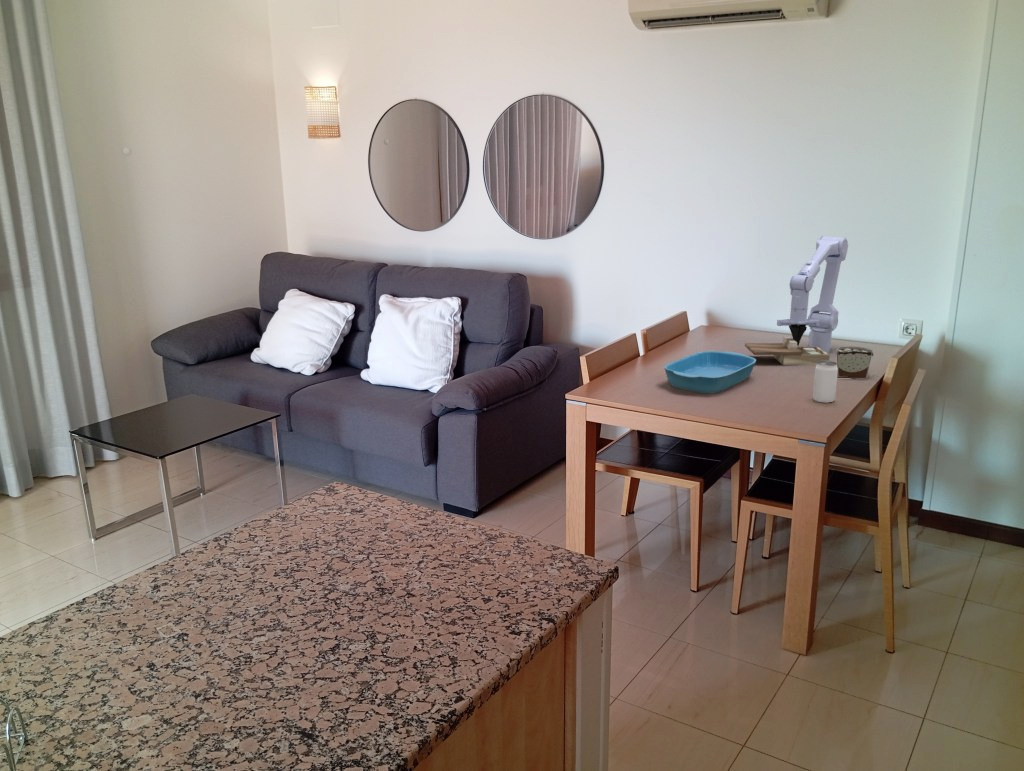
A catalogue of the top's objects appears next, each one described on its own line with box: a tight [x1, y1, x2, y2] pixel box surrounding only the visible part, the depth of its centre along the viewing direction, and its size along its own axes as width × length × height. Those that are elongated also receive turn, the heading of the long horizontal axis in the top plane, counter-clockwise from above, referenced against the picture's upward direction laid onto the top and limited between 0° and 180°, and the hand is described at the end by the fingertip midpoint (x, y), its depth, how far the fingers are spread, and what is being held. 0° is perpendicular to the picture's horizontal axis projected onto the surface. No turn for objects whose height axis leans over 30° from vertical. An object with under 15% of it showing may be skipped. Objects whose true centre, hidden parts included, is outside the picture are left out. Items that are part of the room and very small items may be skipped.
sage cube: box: [806, 351, 821, 355], centre depth 292 cm, size 4×4×4 cm
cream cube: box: [803, 348, 816, 355], centre depth 297 cm, size 4×4×4 cm
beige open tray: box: [772, 346, 830, 366], centre depth 295 cm, size 13×16×4 cm
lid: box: [744, 336, 802, 356], centre depth 294 cm, size 14×17×4 cm
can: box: [812, 360, 838, 404], centre depth 249 cm, size 6×6×12 cm
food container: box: [834, 345, 874, 380], centre depth 275 cm, size 12×6×10 cm, turn 84°
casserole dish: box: [664, 350, 757, 394], centre depth 272 cm, size 37×22×7 cm, turn 139°
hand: (796, 345), depth 293 cm, fingers closed
